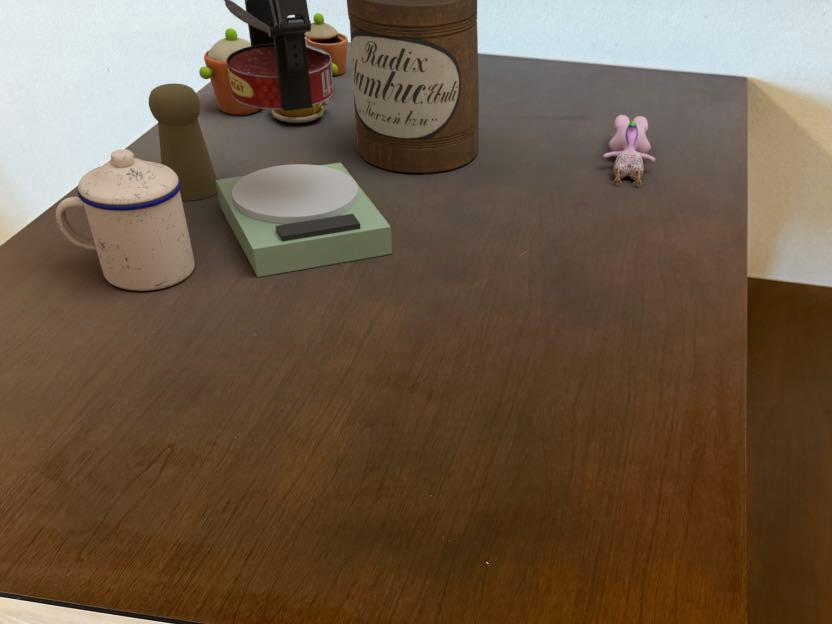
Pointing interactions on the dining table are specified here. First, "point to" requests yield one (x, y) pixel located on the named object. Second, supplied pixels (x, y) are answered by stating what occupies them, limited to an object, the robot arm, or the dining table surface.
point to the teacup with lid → (133, 222)
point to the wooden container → (415, 82)
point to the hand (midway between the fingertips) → (282, 88)
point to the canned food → (271, 70)
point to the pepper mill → (183, 139)
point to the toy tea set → (218, 54)
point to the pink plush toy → (629, 147)
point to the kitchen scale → (302, 218)
